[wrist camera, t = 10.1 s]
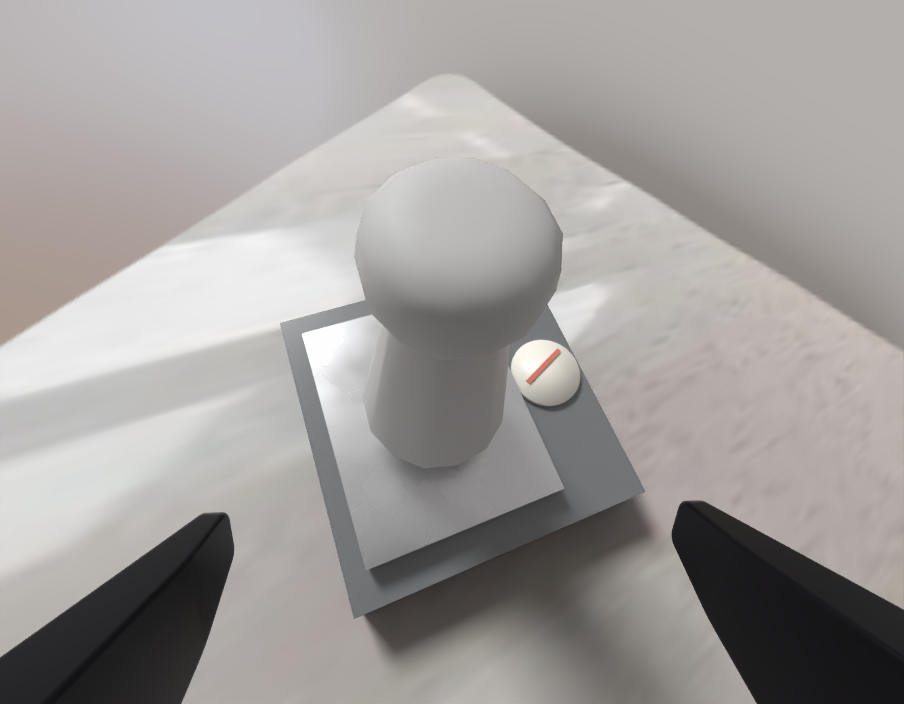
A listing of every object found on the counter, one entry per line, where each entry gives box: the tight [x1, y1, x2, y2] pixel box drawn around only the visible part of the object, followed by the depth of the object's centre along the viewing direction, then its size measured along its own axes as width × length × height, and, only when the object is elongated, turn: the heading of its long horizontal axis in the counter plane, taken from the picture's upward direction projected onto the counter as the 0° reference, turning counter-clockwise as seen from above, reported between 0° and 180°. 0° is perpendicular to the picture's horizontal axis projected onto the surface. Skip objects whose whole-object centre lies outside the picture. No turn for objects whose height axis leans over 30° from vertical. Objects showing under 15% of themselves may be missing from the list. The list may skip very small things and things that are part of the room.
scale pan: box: [302, 315, 564, 570], centre depth 20 cm, size 11×9×1 cm
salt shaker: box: [354, 158, 563, 468], centre depth 14 cm, size 6×6×13 cm
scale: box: [280, 300, 645, 619], centre depth 22 cm, size 14×14×3 cm
